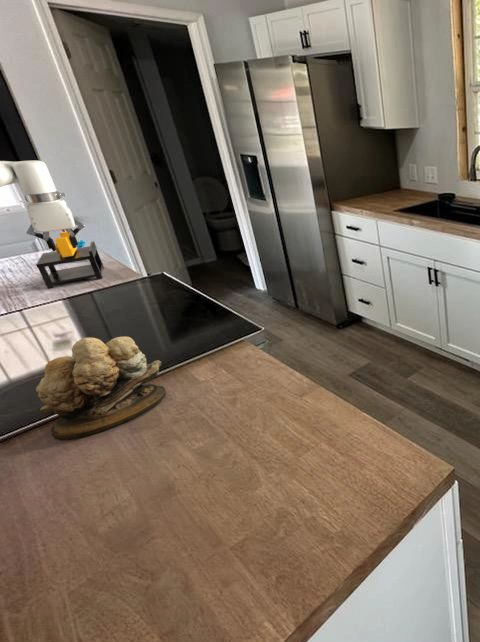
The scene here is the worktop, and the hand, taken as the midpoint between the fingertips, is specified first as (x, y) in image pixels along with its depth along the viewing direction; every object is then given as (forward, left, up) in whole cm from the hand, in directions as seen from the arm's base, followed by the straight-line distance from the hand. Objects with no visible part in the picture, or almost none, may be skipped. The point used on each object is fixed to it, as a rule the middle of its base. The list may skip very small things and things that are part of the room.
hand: (64, 248), depth 147 cm
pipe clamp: (0, 0, -2) cm, 2 cm away
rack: (0, 0, -11) cm, 11 cm away
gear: (-1, +27, -12) cm, 29 cm away
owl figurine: (+12, -108, -12) cm, 109 cm away
